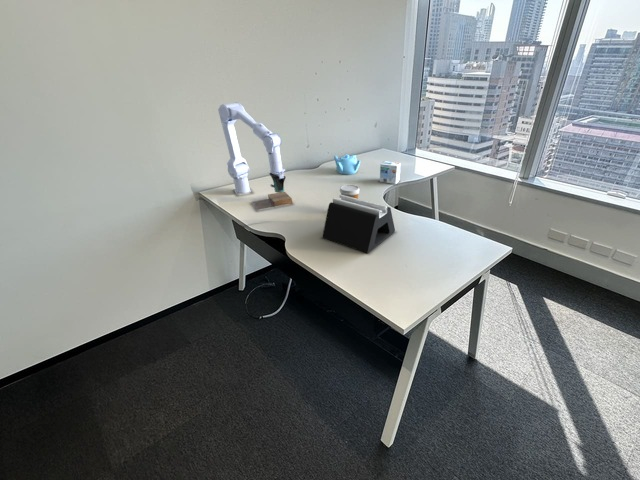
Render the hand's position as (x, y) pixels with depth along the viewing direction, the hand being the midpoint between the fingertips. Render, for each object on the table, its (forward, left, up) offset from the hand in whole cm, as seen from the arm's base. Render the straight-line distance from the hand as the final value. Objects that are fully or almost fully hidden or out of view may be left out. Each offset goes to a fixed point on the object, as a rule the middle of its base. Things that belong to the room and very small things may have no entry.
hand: (279, 188), depth 165 cm
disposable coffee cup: (+27, +26, -7) cm, 39 cm away
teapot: (-29, +53, -7) cm, 61 cm away
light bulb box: (0, +67, -7) cm, 68 cm away
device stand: (+51, +18, -7) cm, 55 cm away
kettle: (0, 0, -1) cm, 1 cm away
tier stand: (0, -5, -7) cm, 9 cm away
